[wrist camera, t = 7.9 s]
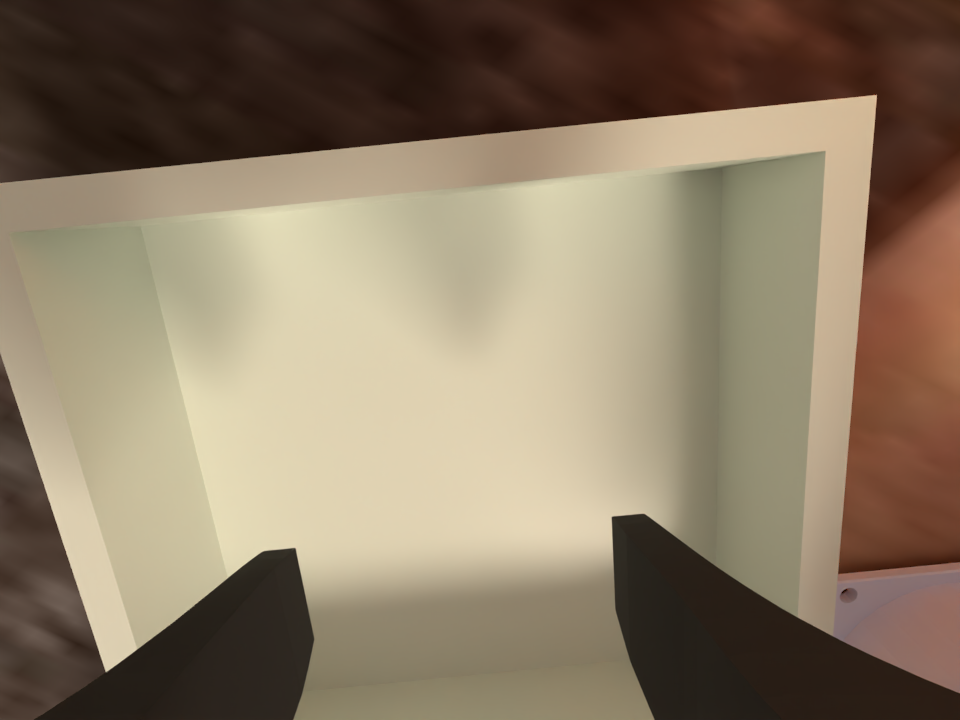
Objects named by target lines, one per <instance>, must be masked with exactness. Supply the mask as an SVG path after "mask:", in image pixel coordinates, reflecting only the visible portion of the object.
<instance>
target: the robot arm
mask: <svg viewBox="0 0 960 720" xmlns="http://www.w3.org/2000/svg"><path fill="white" fill-rule="evenodd" d="M612 539H613V564H614V589H615V610H616V614H617V617H618V621H619V624H620V628H621V632H622V635H623V639H624V642H625V645H626V649H627V652H628V655H629V659H630V662H631V664H632V667H633V669H634V672H635V674H636V677H637V679H638V682H639V684H640V686H641V689H642V691H643V694H644V696H645V698H646V701H647V703H648V706H649V708H650V710H651V713H652V715H653V718H654V720H960V562H957V563H947V564H937V565H926V566H916V567H906V568H896V569H886V570H875V571H865V572H855V573H845V574H838V580H837V593H836V605H835V617H834V630H833V636H832V635H830V634H828V633H826V632H824V631H822V630H820V629H818V628H817V627H815V626H813V625H811V624H809V623H807V622H805V621H803V620H801V619H800V618H798V617H796V616H794V615H793V614H791V613H789V612H787V611H786V610H784V609H782V608H780V607H779V606H777V605H775V604H774V603H772V602H771V601H769V600H767V599H766V598H764V597H763V596H761V595H759V594H758V593H756V592H754V591H753V590H751V589H750V588H748V587H746V586H745V585H743V584H742V583H740V582H739V581H737V580H736V579H734V578H733V577H731V576H730V575H728V574H727V573H725V572H724V571H722V570H721V569H719V568H718V567H717V566H715V565H714V564H712V563H711V562H710V561H708V560H707V559H705V558H704V557H702V556H701V555H700V554H698V553H697V552H696V551H694V550H693V549H691V548H690V547H689V546H687V545H686V544H685V543H683V542H682V541H681V540H679V539H678V538H677V537H675V536H674V535H673V534H671V533H670V532H669V531H667V530H666V529H665V528H663V527H662V526H661V525H659V524H658V523H657V522H655V521H654V520H653V519H651V518H650V517H649V516H647V515H646V514H634V515H623V516H613V517H612ZM847 588H848V590H847V591H846V592H844V593H842V594H841V592H842V591H843V590H845V589H847ZM313 644H314V634H313V630H312V625H311V620H310V615H309V610H308V606H307V601H306V596H305V591H304V586H303V582H302V577H301V572H300V567H299V562H298V558H297V553H296V548H289V549H279V550H268V551H263V552H261V553H260V554H258V555H257V556H255V557H254V558H253V559H251V560H250V561H249V562H247V563H246V564H245V565H244V566H242V567H241V568H240V569H238V570H237V571H236V572H235V573H233V574H232V575H231V576H230V577H229V578H227V579H226V580H225V581H224V582H222V583H221V584H220V585H219V586H218V587H216V588H215V589H214V590H213V591H211V592H210V593H209V594H208V595H206V596H205V597H204V598H203V599H201V600H200V601H199V602H198V603H197V604H195V605H194V606H193V607H192V608H190V609H189V610H188V611H187V612H185V613H184V614H183V615H182V616H180V617H179V618H178V619H177V620H175V621H174V622H173V623H172V624H170V625H169V626H168V627H166V628H165V629H164V630H162V631H161V632H160V633H158V634H157V635H156V636H154V637H153V638H152V639H150V640H149V641H148V642H146V643H145V644H144V645H142V646H141V647H140V648H138V649H137V650H136V651H134V652H133V653H132V654H130V655H129V656H128V657H126V658H125V659H124V660H122V661H121V662H120V663H118V664H117V665H116V666H114V667H113V668H111V669H110V670H109V671H107V672H106V673H104V674H103V675H102V676H100V677H99V678H97V679H96V680H94V681H93V682H91V683H90V684H88V685H87V686H86V687H84V688H83V689H81V690H80V691H78V692H76V693H75V694H73V695H72V696H70V697H69V698H67V699H66V700H64V701H63V702H61V703H60V704H58V705H56V706H55V707H53V708H52V709H50V710H49V711H47V712H46V713H44V714H43V715H41V716H39V717H38V718H36V719H34V720H293V719H294V716H295V714H296V711H297V708H298V705H299V702H300V699H301V696H302V693H303V688H304V684H305V680H306V676H307V672H308V667H309V663H310V658H311V653H312V648H313Z"/></svg>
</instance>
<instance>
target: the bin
mask: <svg viewBox="0 0 960 720" xmlns="http://www.w3.org/2000/svg"><path fill="white" fill-rule="evenodd" d="M876 100H877V95H873V96H863V97H853V98H843V99H833V100H823V101H813V102H803V103H793V104H783V105H773V106H763V107H753V108H744V109H734V110H724V111H714V112H704V113H694V114H684V115H674V116H664V117H654V118H644V119H634V120H624V121H614V122H604V123H594V124H584V125H574V126H564V127H554V128H545V129H535V130H525V131H515V132H505V133H495V134H485V135H475V136H465V137H455V138H445V139H435V140H425V141H415V142H405V143H395V144H385V145H375V146H365V147H356V148H346V149H336V150H326V151H316V152H306V153H296V154H286V155H276V156H266V157H256V158H246V159H236V160H226V161H216V162H206V163H196V164H186V165H176V166H167V167H157V168H147V169H137V170H127V171H117V172H107V173H97V174H87V175H77V176H67V177H57V178H47V179H37V180H27V181H17V182H7V183H0V353H1V356H2V359H3V362H4V365H5V368H6V371H7V374H8V377H9V380H10V383H11V386H12V389H13V392H14V395H15V398H16V402H17V405H18V408H19V411H20V414H21V417H22V420H23V423H24V426H25V429H26V432H27V435H28V438H29V441H30V444H31V447H32V450H33V453H34V456H35V459H36V462H37V465H38V468H39V471H40V474H41V477H42V480H43V483H44V486H45V489H46V492H47V495H48V498H49V501H50V504H51V507H52V510H53V513H54V516H55V519H56V522H57V526H58V529H59V532H60V535H61V538H62V541H63V544H64V547H65V550H66V553H67V556H68V559H69V562H70V565H71V568H72V571H73V574H74V577H75V580H76V583H77V586H78V589H79V592H80V595H81V598H82V601H83V604H84V607H85V610H86V613H87V616H88V619H89V622H90V625H91V628H92V631H93V634H94V637H95V640H96V643H97V646H98V649H99V653H100V656H101V659H102V662H103V665H104V668H105V671H106V672H107V671H109V670H110V669H111V668H113V667H114V666H116V665H117V664H118V663H120V662H121V661H122V660H124V659H125V658H126V657H128V656H129V655H130V654H132V653H133V652H134V651H136V650H137V649H138V648H140V647H141V646H142V645H144V644H145V643H146V642H148V641H149V640H150V639H152V638H153V637H154V636H156V635H157V634H158V633H160V632H161V631H162V630H164V629H165V628H166V627H168V626H169V625H170V624H172V623H173V622H174V621H175V620H177V619H178V618H179V617H180V616H182V615H183V614H184V613H185V612H187V611H188V610H189V609H190V608H192V607H193V606H194V605H195V604H197V603H198V602H199V601H200V600H201V599H203V598H204V597H205V596H206V595H208V594H209V593H210V592H211V591H213V590H214V589H215V588H216V587H218V586H219V585H220V584H221V583H222V582H224V581H225V580H226V579H227V578H229V577H230V576H231V575H232V574H233V573H235V572H236V571H237V570H238V569H240V568H241V567H242V566H244V565H245V564H246V563H247V562H249V561H250V560H251V559H253V558H254V557H255V556H257V555H258V554H260V553H261V552H263V551H268V550H279V549H289V548H296V553H297V558H298V562H299V567H300V572H301V577H302V582H303V586H304V591H305V596H306V601H307V606H308V610H309V615H310V620H311V625H312V630H313V634H314V644H313V648H312V653H311V658H310V663H309V667H308V672H307V676H306V680H305V684H304V688H303V693H302V696H301V699H300V702H299V705H298V708H297V711H296V714H295V716H294V719H293V720H654V718H653V715H652V713H651V710H650V708H649V706H648V703H647V701H646V698H645V696H644V694H643V691H642V689H641V686H640V684H639V682H638V679H637V677H636V674H635V672H634V669H633V667H632V664H631V662H630V659H629V655H628V652H627V649H626V645H625V642H624V639H623V635H622V632H621V628H620V624H619V621H618V617H617V614H616V610H615V589H614V564H613V539H612V517H613V516H623V515H634V514H646V515H647V516H649V517H650V518H651V519H653V520H654V521H655V522H657V523H658V524H659V525H661V526H662V527H663V528H665V529H666V530H667V531H669V532H670V533H671V534H673V535H674V536H675V537H677V538H678V539H679V540H681V541H682V542H683V543H685V544H686V545H687V546H689V547H690V548H691V549H693V550H694V551H696V552H697V553H698V554H700V555H701V556H702V557H704V558H705V559H707V560H708V561H710V562H711V563H712V564H714V565H715V566H717V567H718V568H719V569H721V570H722V571H724V572H725V573H727V574H728V575H730V576H731V577H733V578H734V579H736V580H737V581H739V582H740V583H742V584H743V585H745V586H746V587H748V588H750V589H751V590H753V591H754V592H756V593H758V594H759V595H761V596H763V597H764V598H766V599H767V600H769V601H771V602H772V603H774V604H775V605H777V606H779V607H780V608H782V609H784V610H786V611H787V612H789V613H791V614H793V615H794V616H796V617H798V618H800V619H801V620H803V621H805V622H807V623H809V624H811V625H813V626H815V627H817V628H818V629H820V630H822V631H824V632H826V633H828V634H830V635H832V636H833V630H834V617H835V605H836V593H837V580H838V568H839V556H840V543H841V531H842V519H843V506H844V494H845V482H846V469H847V457H848V445H849V432H850V420H851V408H852V395H853V383H854V371H855V358H856V346H857V334H858V321H859V309H860V297H861V285H862V272H863V260H864V248H865V235H866V223H867V211H868V198H869V186H870V174H871V161H872V149H873V137H874V124H875V112H876Z"/></svg>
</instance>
